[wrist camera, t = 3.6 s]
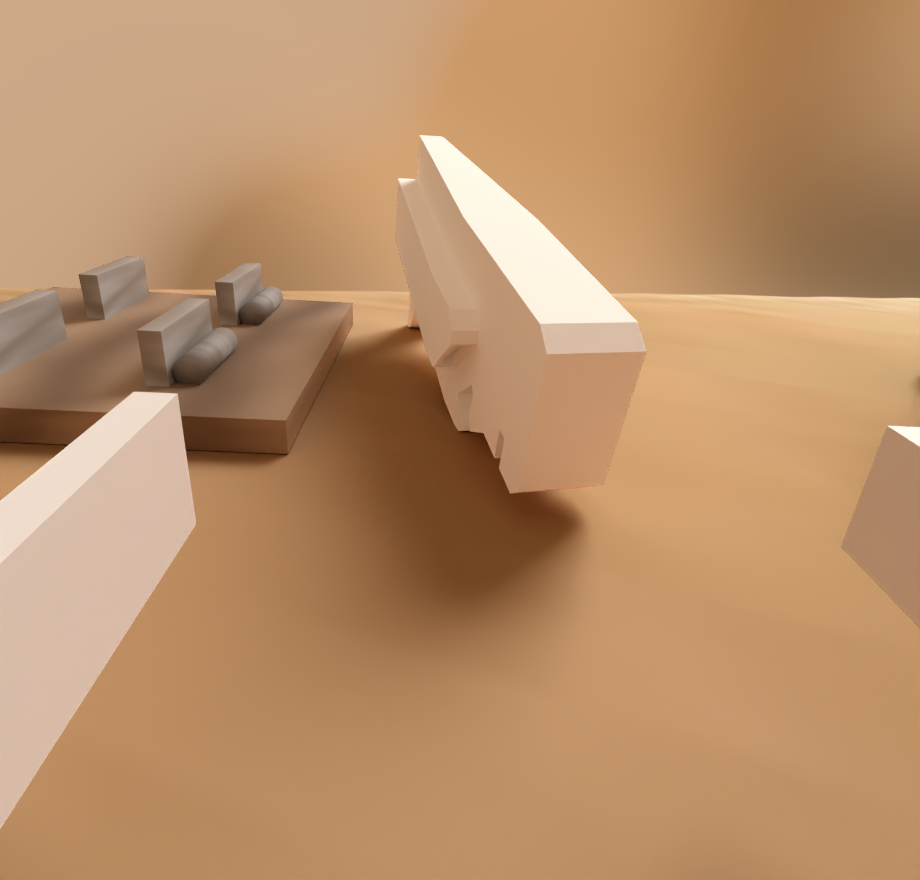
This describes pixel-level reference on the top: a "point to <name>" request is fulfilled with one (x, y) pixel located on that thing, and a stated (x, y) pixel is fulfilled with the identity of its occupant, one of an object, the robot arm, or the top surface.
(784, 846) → the top surface
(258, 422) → the hinge board
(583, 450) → the shelf bracket
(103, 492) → the robot arm
